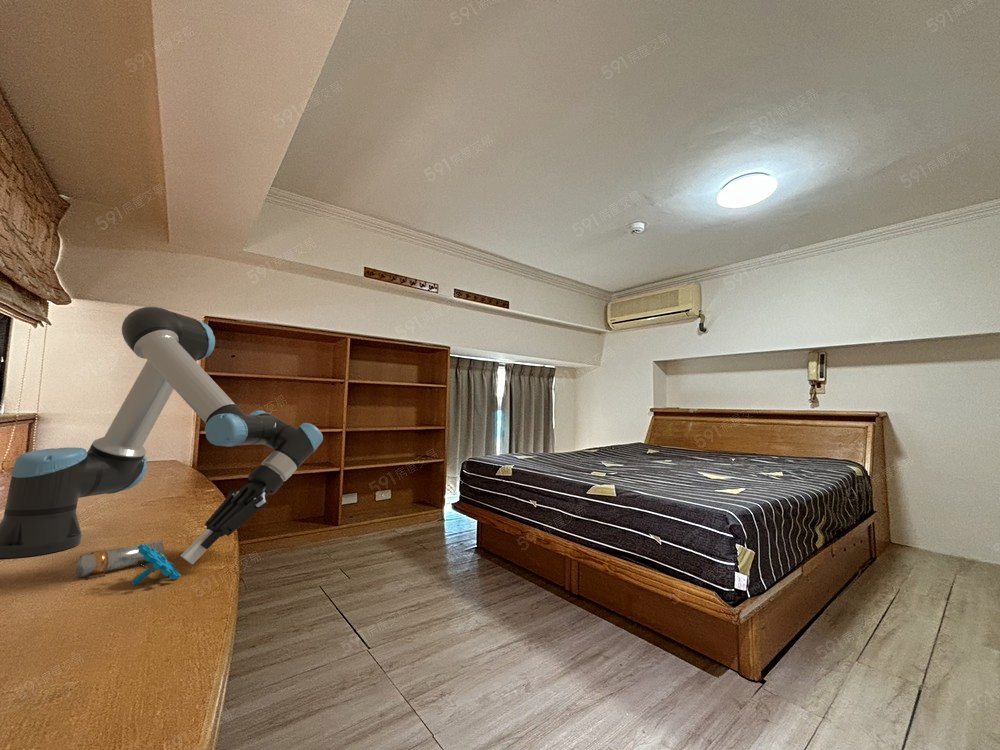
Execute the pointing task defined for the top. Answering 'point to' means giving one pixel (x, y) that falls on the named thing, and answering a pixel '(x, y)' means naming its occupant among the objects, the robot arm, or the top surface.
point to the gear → (155, 564)
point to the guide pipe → (113, 560)
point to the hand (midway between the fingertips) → (186, 560)
